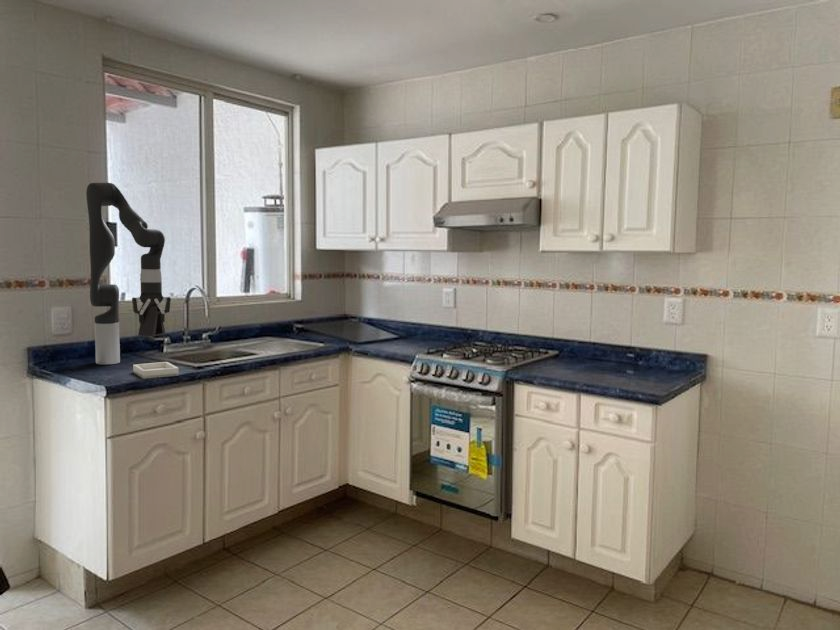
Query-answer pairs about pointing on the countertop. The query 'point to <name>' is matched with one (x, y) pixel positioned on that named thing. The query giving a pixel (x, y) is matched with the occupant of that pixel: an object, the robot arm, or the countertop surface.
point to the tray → (155, 370)
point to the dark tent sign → (151, 322)
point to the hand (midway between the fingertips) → (151, 323)
